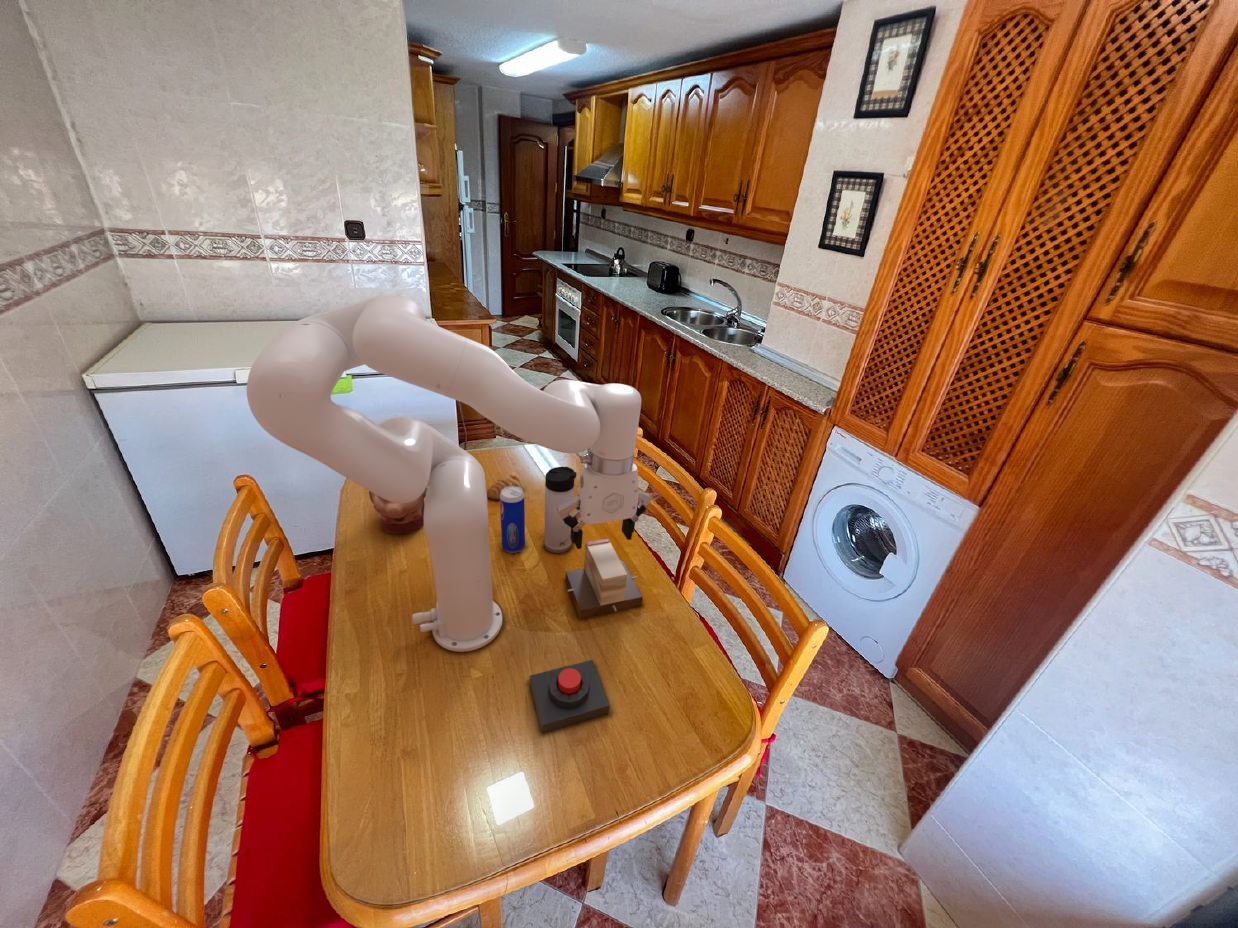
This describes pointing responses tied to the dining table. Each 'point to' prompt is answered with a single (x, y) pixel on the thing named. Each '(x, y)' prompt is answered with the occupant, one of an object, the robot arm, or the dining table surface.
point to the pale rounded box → (605, 571)
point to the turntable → (587, 599)
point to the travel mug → (556, 494)
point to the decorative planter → (400, 513)
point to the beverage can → (512, 519)
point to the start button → (569, 681)
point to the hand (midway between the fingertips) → (602, 539)
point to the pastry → (503, 486)
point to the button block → (568, 697)
